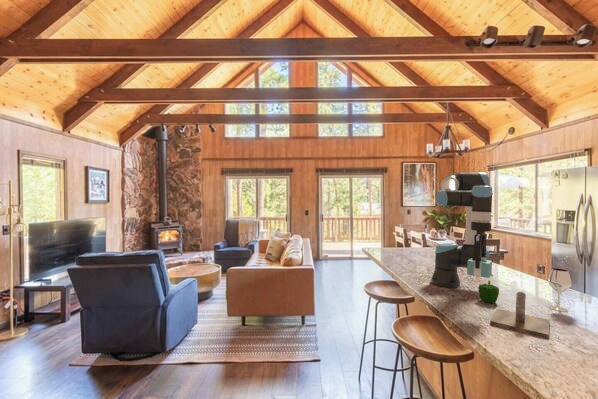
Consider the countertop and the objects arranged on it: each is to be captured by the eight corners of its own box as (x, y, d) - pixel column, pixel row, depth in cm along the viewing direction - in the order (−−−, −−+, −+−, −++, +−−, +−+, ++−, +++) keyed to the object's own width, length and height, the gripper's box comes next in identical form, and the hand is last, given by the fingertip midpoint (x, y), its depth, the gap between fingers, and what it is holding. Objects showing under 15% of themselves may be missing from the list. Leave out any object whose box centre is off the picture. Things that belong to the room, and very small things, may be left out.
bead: (467, 274, 134) (467, 260, 134) (470, 271, 141) (471, 257, 140) (488, 278, 129) (488, 263, 129) (491, 274, 135) (492, 260, 135)
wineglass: (565, 313, 136) (566, 272, 136) (543, 307, 144) (544, 268, 143) (574, 310, 140) (575, 271, 140) (552, 304, 147) (553, 267, 147)
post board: (490, 324, 123) (491, 291, 123) (496, 311, 137) (497, 282, 136) (548, 338, 111) (549, 302, 111) (549, 323, 125) (550, 291, 125)
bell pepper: (493, 306, 144) (493, 284, 144) (475, 300, 151) (475, 280, 151) (502, 302, 149) (502, 282, 148) (484, 297, 156) (484, 278, 155)
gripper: (487, 223, 124) (485, 280, 124) (494, 220, 140) (493, 271, 141) (466, 222, 129) (464, 276, 129) (476, 219, 145) (474, 268, 145)
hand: (479, 273), depth 135 cm, fingers closed on bead, 8 cm apart
